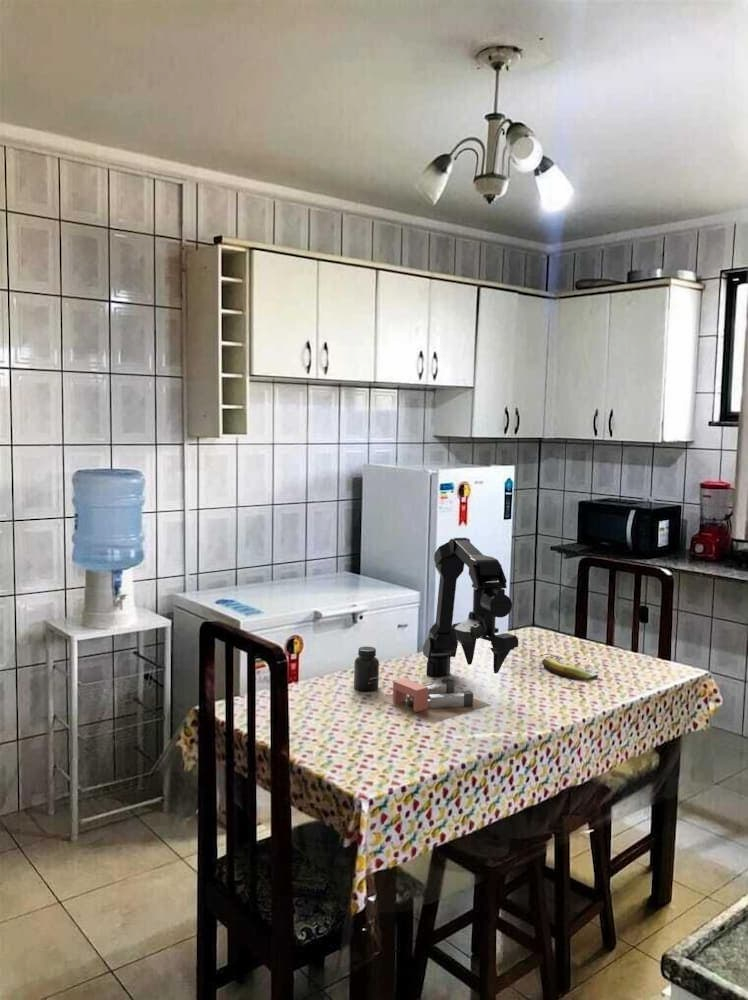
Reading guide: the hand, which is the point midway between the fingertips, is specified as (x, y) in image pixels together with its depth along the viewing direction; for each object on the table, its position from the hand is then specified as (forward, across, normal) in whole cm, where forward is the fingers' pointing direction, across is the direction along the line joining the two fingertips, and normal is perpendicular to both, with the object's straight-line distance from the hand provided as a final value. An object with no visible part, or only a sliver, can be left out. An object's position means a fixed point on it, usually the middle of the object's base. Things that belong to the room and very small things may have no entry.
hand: (482, 668), depth 212 cm
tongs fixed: (+11, -15, -4) cm, 19 cm away
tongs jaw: (+11, -9, -5) cm, 15 cm away
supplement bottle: (+12, -32, -12) cm, 37 cm away
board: (+12, -13, -4) cm, 19 cm away
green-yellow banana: (+13, -9, +46) cm, 49 cm away
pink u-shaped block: (+11, -14, -12) cm, 22 cm away
